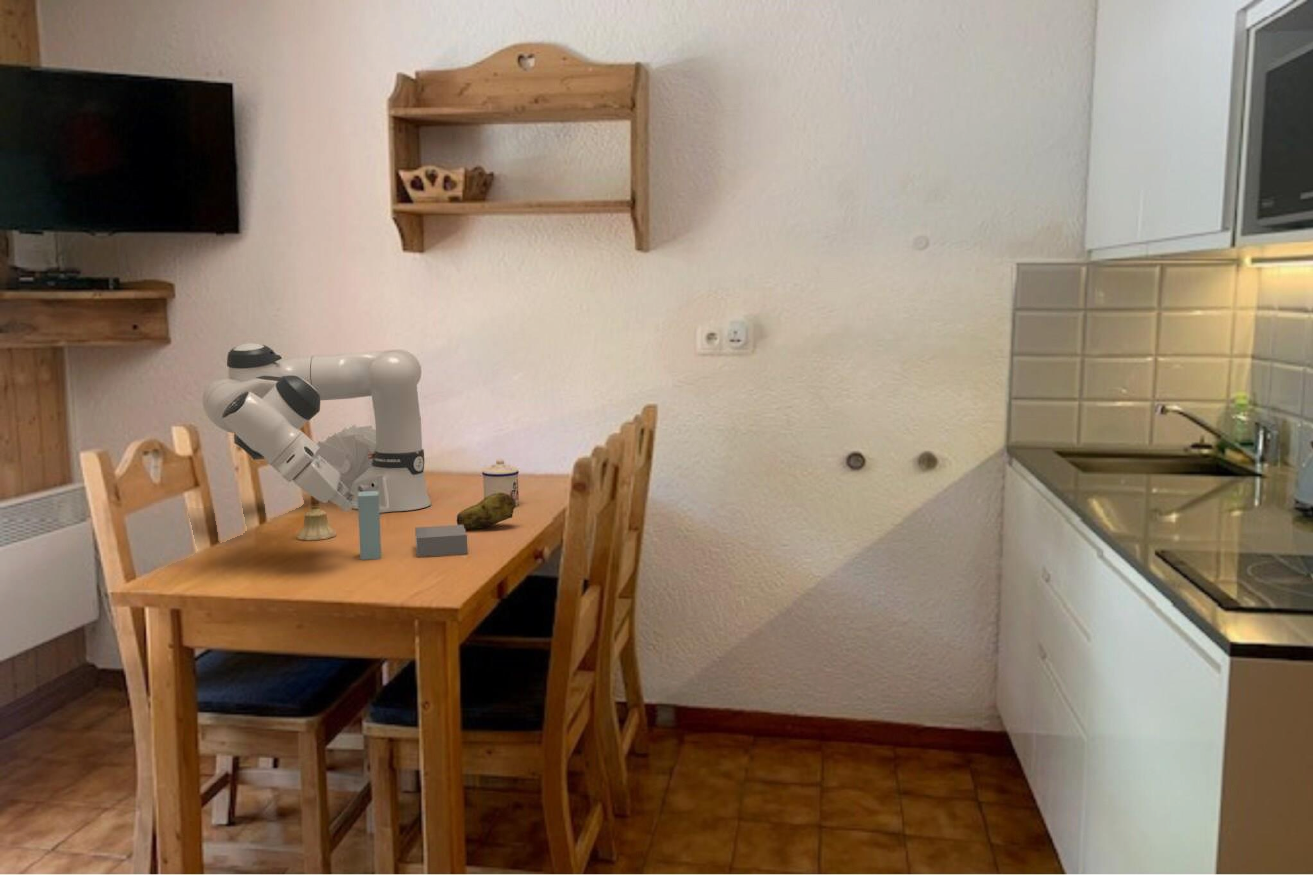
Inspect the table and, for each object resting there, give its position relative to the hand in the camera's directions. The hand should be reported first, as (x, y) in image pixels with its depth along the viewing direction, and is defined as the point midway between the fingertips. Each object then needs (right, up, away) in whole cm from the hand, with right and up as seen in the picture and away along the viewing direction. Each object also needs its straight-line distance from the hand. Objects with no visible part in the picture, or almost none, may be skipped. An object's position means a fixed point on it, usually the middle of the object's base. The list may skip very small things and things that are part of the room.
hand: (351, 504), depth 210 cm
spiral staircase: (-20, -1, +73) cm, 76 cm away
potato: (+23, -7, +28) cm, 37 cm away
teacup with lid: (+22, -4, +54) cm, 59 cm away
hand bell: (-14, -9, +21) cm, 26 cm away
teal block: (+3, -11, +3) cm, 12 cm away
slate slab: (+16, -10, +8) cm, 21 cm away
